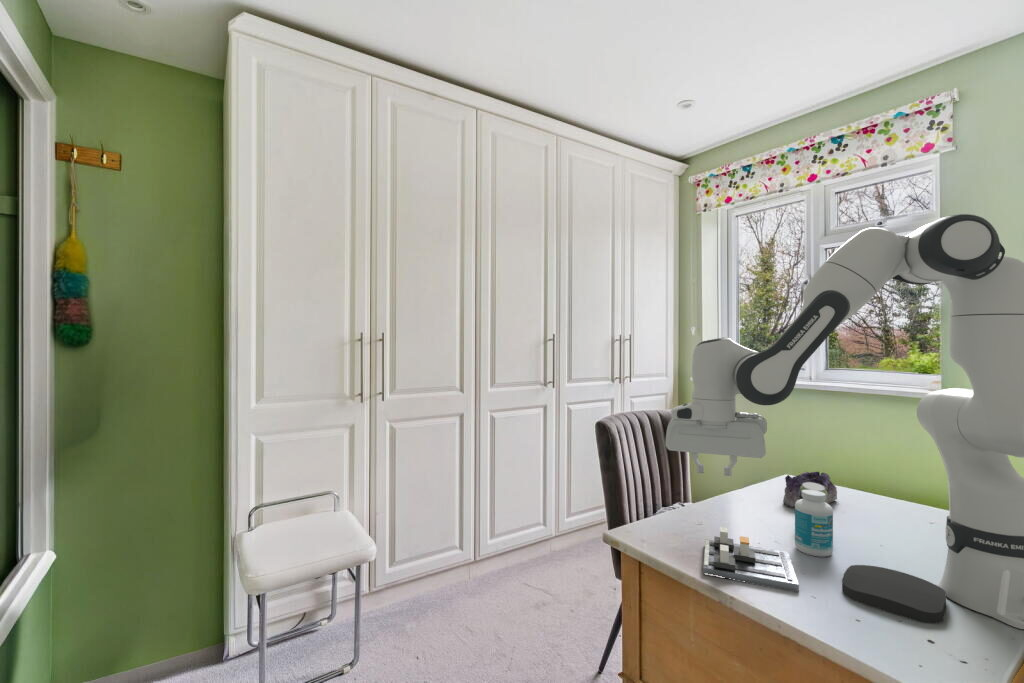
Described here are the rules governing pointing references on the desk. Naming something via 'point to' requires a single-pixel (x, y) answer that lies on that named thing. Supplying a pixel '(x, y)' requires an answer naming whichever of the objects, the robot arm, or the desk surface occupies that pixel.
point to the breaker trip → (744, 551)
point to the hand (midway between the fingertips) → (713, 473)
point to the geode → (797, 481)
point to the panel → (755, 567)
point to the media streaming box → (895, 593)
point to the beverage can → (812, 488)
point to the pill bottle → (814, 524)
